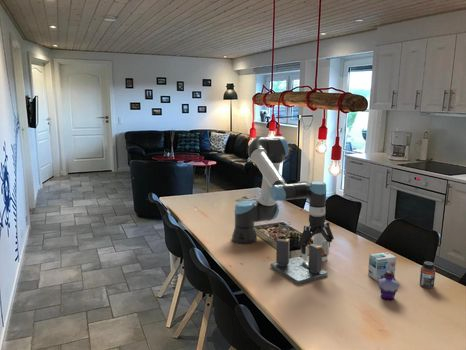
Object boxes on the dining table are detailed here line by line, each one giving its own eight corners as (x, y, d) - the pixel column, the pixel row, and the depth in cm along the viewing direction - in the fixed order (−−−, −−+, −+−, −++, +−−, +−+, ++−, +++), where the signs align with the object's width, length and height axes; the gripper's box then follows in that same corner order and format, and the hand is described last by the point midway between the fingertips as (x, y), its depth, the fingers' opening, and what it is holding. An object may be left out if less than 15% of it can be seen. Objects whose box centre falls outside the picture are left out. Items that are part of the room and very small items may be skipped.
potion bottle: (380, 290, 173) (382, 265, 171) (400, 296, 168) (403, 270, 166) (373, 298, 167) (375, 272, 164) (394, 304, 162) (396, 278, 159)
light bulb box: (375, 280, 182) (377, 259, 180) (367, 274, 189) (368, 254, 187) (395, 278, 185) (397, 256, 183) (386, 272, 192) (387, 251, 189)
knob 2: (306, 270, 190) (307, 243, 187) (314, 267, 192) (315, 242, 189) (315, 274, 184) (316, 247, 182) (322, 272, 187) (324, 246, 184)
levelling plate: (270, 267, 197) (270, 260, 197) (298, 259, 206) (298, 253, 205) (298, 285, 179) (298, 277, 178) (327, 276, 187) (327, 268, 187)
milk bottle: (316, 262, 202) (318, 226, 198) (310, 257, 210) (311, 221, 206) (330, 261, 204) (331, 225, 200) (322, 255, 212) (324, 220, 208)
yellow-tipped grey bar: (275, 265, 195) (276, 240, 192) (278, 261, 199) (278, 236, 196) (287, 267, 193) (288, 241, 190) (289, 263, 197) (290, 238, 194)
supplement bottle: (421, 281, 181) (423, 259, 179) (435, 285, 178) (437, 262, 175) (417, 286, 177) (420, 263, 175) (432, 290, 173) (434, 266, 171)
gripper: (301, 220, 173) (300, 265, 177) (342, 212, 185) (340, 254, 189) (291, 216, 180) (290, 259, 184) (331, 208, 192) (329, 249, 196)
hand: (315, 256), depth 186 cm, fingers open, 13 cm apart
